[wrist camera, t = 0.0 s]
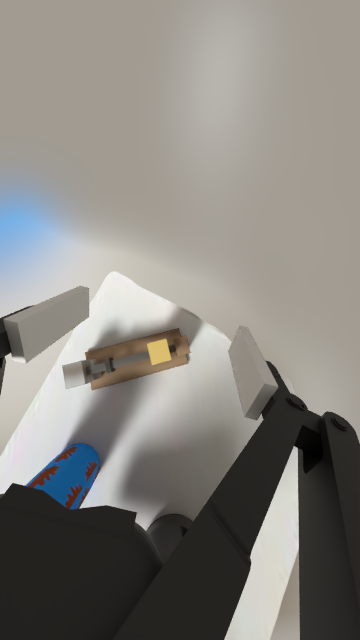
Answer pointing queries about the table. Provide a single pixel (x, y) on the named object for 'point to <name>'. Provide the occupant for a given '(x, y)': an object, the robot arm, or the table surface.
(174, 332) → the rod stand
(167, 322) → the table surface
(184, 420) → the table surface
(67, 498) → the thermos
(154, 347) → the sleeve
